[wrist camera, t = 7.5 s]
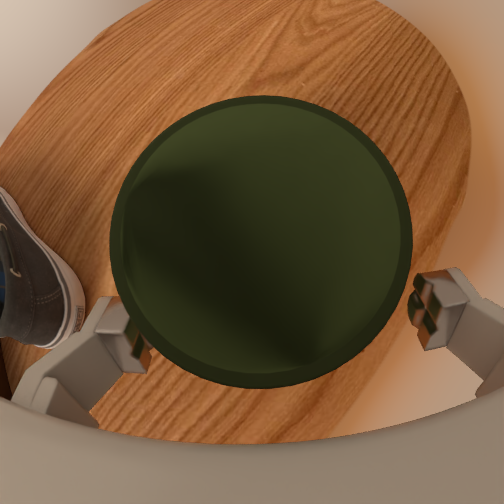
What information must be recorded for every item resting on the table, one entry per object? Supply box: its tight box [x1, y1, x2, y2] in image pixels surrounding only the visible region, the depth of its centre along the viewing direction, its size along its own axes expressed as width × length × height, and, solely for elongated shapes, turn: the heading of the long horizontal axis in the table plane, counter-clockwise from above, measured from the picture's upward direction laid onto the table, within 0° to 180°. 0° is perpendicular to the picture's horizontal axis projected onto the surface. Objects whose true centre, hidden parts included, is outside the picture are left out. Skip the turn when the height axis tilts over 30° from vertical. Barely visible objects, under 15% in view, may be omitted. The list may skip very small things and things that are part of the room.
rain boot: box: [110, 95, 413, 389], centre depth 12 cm, size 11×6×13 cm, turn 4°
